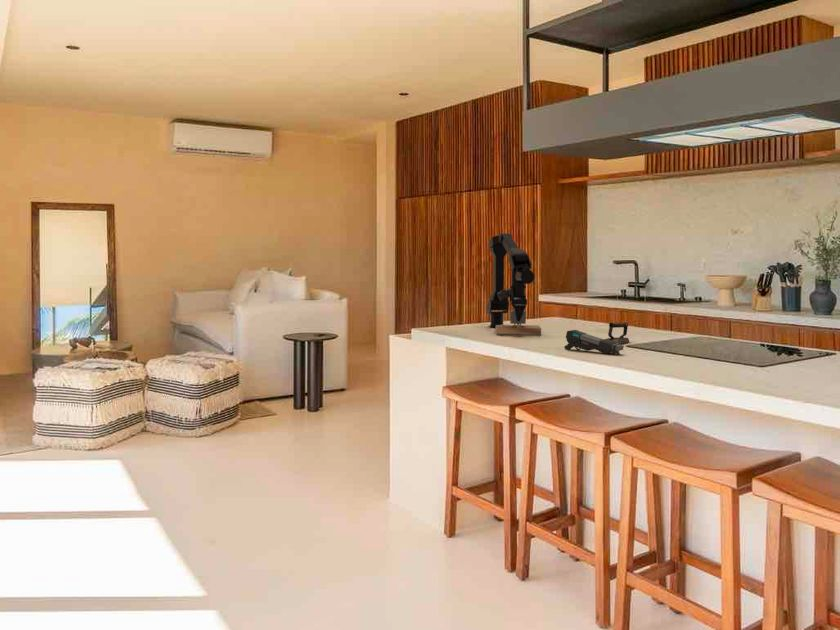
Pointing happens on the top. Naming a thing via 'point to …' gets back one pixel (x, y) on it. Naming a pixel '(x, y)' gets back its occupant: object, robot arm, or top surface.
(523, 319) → the dark grey block
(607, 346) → the gun
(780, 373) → the top surface
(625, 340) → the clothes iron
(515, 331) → the socket box
